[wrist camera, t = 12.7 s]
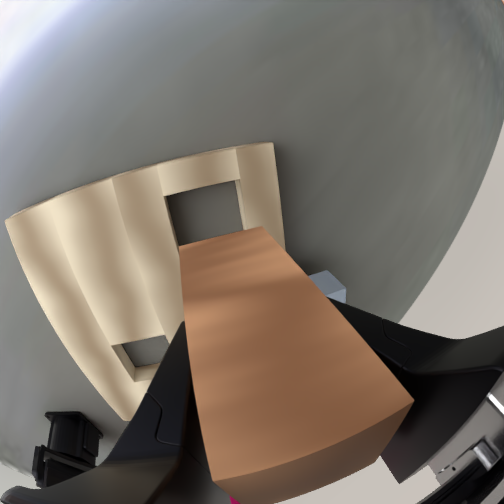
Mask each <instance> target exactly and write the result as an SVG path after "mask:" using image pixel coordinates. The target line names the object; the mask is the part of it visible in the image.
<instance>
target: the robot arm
mask: <svg viewBox="0 0 504 504" xmlns="http://www.w3.org/2000/svg"><path fill="white" fill-rule="evenodd" d="M326 297H327V296H326ZM327 298H328V299H329V300H330V302H331V303H332V304H333V305H334V306H335V307H336V308H337V310H338V311H339V312H340V313H341V314H342V315H343V316H344V318H345V319H346V320H347V321H348V322H349V323H350V324H351V326H352V327H353V328H354V329H355V330H356V331H357V333H358V334H359V335H360V336H361V337H362V338H363V340H364V341H365V342H366V343H367V344H368V345H369V347H370V348H371V349H372V350H373V351H374V352H375V354H376V355H377V356H378V357H379V358H380V359H381V361H382V362H383V363H384V364H385V365H386V367H387V368H388V369H389V370H390V371H391V373H392V374H393V375H394V376H395V377H396V379H397V380H398V381H399V382H400V383H401V385H402V386H403V387H404V388H405V389H406V391H407V392H408V393H409V394H410V395H411V397H412V398H413V399H414V402H413V404H412V406H411V408H410V409H409V411H408V413H407V415H406V416H405V418H404V420H403V421H402V423H401V424H400V426H399V428H398V429H397V431H396V432H395V434H394V435H393V437H392V438H391V440H390V441H389V443H388V444H387V446H386V447H385V449H384V450H383V452H382V453H381V454H380V456H381V457H382V459H383V460H384V462H385V463H386V465H387V467H388V468H389V470H390V471H391V473H392V474H393V476H394V477H395V479H396V480H397V482H398V483H399V484H400V483H402V482H403V481H405V480H406V479H408V478H410V477H411V476H413V475H414V474H416V473H417V472H418V471H420V470H421V469H423V468H424V467H425V466H427V465H429V466H430V468H431V469H432V470H433V472H434V473H435V475H436V479H437V481H438V482H439V483H440V485H441V486H440V487H438V488H437V489H436V490H435V491H433V492H432V493H431V494H429V495H428V496H427V497H425V498H424V499H422V500H421V501H419V502H418V503H417V504H504V326H502V327H499V328H497V329H494V330H491V331H488V332H485V333H482V334H479V335H476V336H473V337H470V338H466V339H450V338H446V337H442V336H438V335H434V334H430V333H426V332H423V331H419V330H416V329H412V328H409V327H406V326H403V325H400V324H397V323H394V322H392V321H389V320H386V319H383V320H382V318H381V317H378V316H376V315H373V314H371V313H368V312H365V311H363V310H360V309H358V308H355V307H352V306H350V305H347V304H345V303H342V302H340V301H337V300H335V299H332V298H329V297H327ZM45 417H46V418H47V419H48V420H49V421H50V422H51V427H50V433H49V438H48V445H47V447H45V446H44V445H42V444H41V447H40V446H35V452H34V459H33V466H32V475H33V476H34V477H35V481H36V486H37V487H40V488H41V489H30V488H26V487H22V486H15V487H13V488H11V489H9V490H7V491H6V492H5V493H4V494H3V495H2V497H1V499H0V500H1V502H2V503H4V504H231V501H230V496H229V494H227V493H226V492H225V491H224V490H222V489H221V488H220V487H219V486H218V485H216V484H215V483H214V482H213V481H212V477H211V472H210V468H209V464H208V460H207V455H206V450H205V446H204V441H203V436H202V431H201V426H200V421H199V415H198V410H197V404H196V398H195V392H194V386H193V380H192V373H191V366H190V359H189V352H188V344H187V336H186V327H185V321H182V322H181V323H180V325H179V327H178V329H177V331H176V333H175V335H174V337H173V339H172V341H171V343H170V345H169V347H168V349H167V351H166V353H165V355H164V357H163V359H162V361H161V363H160V365H159V367H158V369H157V371H156V373H155V375H154V377H153V379H152V381H151V383H150V385H149V387H148V389H147V393H145V395H144V397H143V399H142V401H141V403H140V405H139V407H138V409H137V411H136V412H135V414H134V416H133V418H132V419H131V421H130V423H129V424H128V426H127V427H126V429H125V431H124V432H123V434H122V435H121V437H120V438H119V440H118V442H117V443H116V445H115V446H114V448H113V449H112V451H111V453H110V454H109V455H108V457H107V458H106V459H105V460H104V461H103V462H102V463H101V464H100V465H99V466H95V460H96V457H98V447H99V439H102V438H103V435H102V434H101V433H100V432H99V431H98V430H97V429H96V428H95V427H94V426H93V425H92V424H91V423H90V422H89V421H88V420H87V419H86V418H85V417H84V416H83V415H82V414H81V413H79V412H59V413H45ZM44 460H45V462H44Z"/></svg>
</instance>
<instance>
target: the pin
mask: <svg viewBox="0 0 504 504" xmlns="http://www.w3.org/2000/svg"><path fill="white" fill-rule="evenodd" d="M179 259H180V273H181V286H182V298H183V308H184V318H185V327H186V336H187V344H188V352H189V359H190V366H191V373H192V380H193V386H194V392H195V398H196V404H197V410H198V415H199V421H200V426H201V431H202V436H203V441H204V446H205V450H206V455H207V460H208V464H209V468H210V472H211V477H212V481H213V482H214V483H215V484H216V485H218V486H219V487H220V488H221V489H222V490H224V491H225V492H226V493H227V494H229V495H230V496H231V497H232V498H234V499H235V500H236V501H238V502H239V503H240V504H274V503H278V502H281V501H285V500H288V499H291V498H294V497H297V496H300V495H302V494H306V493H308V492H311V491H314V490H316V489H319V488H321V487H324V486H326V485H328V484H331V483H333V482H336V481H338V480H340V479H342V478H344V477H347V476H349V475H351V474H353V473H355V472H357V471H359V470H361V469H363V468H365V467H367V466H369V465H371V464H372V463H374V462H375V461H376V460H377V458H378V457H379V456H380V454H381V453H382V452H383V450H384V449H385V447H386V446H387V444H388V443H389V441H390V440H391V438H392V437H393V435H394V434H395V432H396V431H397V429H398V428H399V426H400V424H401V423H402V421H403V420H404V418H405V416H406V415H407V413H408V411H409V409H410V408H411V406H412V404H413V402H414V399H413V398H412V397H411V395H410V394H409V393H408V392H407V391H406V389H405V388H404V387H403V386H402V385H401V383H400V382H399V381H398V380H397V379H396V377H395V376H394V375H393V374H392V373H391V371H390V370H389V369H388V368H387V367H386V365H385V364H384V363H383V362H382V361H381V359H380V358H379V357H378V356H377V355H376V354H375V352H374V351H373V350H372V349H371V348H370V347H369V345H368V344H367V343H366V342H365V341H364V340H363V338H362V337H361V336H360V335H359V334H358V333H357V331H356V330H355V329H354V328H353V327H352V326H351V324H350V323H349V322H348V321H347V320H346V319H345V318H344V316H343V315H342V314H341V313H340V312H339V311H338V310H337V308H336V307H335V306H334V305H333V304H332V303H331V302H330V300H329V299H328V298H327V297H326V296H325V295H324V294H323V293H322V291H321V290H320V289H319V288H318V287H317V286H316V285H315V284H314V282H313V281H312V280H311V279H310V278H309V277H308V276H307V275H306V274H305V272H304V271H303V270H302V269H301V268H300V267H299V266H298V265H297V264H296V262H295V261H294V260H293V259H292V258H291V257H290V256H289V255H288V254H287V253H286V251H285V250H284V249H283V248H282V247H281V246H280V245H279V244H278V243H277V242H276V241H275V239H274V238H273V237H272V236H271V235H270V234H269V233H268V232H267V231H266V230H265V229H264V228H263V227H262V226H259V227H255V228H251V229H247V230H243V231H239V232H234V233H230V234H226V235H222V236H218V237H214V238H210V239H206V240H202V241H198V242H194V243H190V244H186V245H182V246H179Z"/></svg>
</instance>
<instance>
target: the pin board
mask: <svg viewBox="0 0 504 504" xmlns="http://www.w3.org/2000/svg"><path fill="white" fill-rule="evenodd" d="M232 180H235V184H236V190H237V196H238V202H239V208H240V214H241V220H242V226H243V230H247V229H251V228H255V227H259V226H262V227H263V228H264V229H265V230H266V231H267V232H268V233H269V234H270V235H271V236H272V237H273V238H274V239H275V241H276V242H277V243H278V244H279V245H280V246H281V247H282V248H283V249H284V250H285V240H284V231H283V221H282V212H281V203H280V194H279V186H278V178H277V170H276V162H275V154H274V146H273V143H270V142H259V143H253V144H246V145H240V146H234V147H229V148H223V149H218V150H213V151H208V152H203V153H198V154H194V155H189V156H185V157H180V158H176V159H172V160H168V161H164V162H160V163H156V164H152V165H149V166H145V167H141V168H138V169H134V170H131V171H127V172H124V173H121V174H117V175H114V176H111V177H108V178H105V179H102V180H99V181H96V182H93V183H90V184H87V185H84V186H81V187H78V188H76V189H73V190H70V191H68V192H65V193H62V194H60V195H57V196H55V197H52V198H50V199H47V200H45V201H42V202H40V203H38V204H35V205H33V206H31V207H28V208H26V209H24V210H22V211H19V212H17V213H16V214H14V215H12V216H11V217H9V218H8V219H6V220H5V224H6V227H7V230H8V232H9V235H10V238H11V241H12V243H13V246H14V249H15V251H16V254H17V256H18V259H19V261H20V263H21V266H22V268H23V270H24V272H25V275H26V277H27V279H28V281H29V283H30V285H31V287H32V289H33V291H34V293H35V295H36V297H37V299H38V301H39V303H40V305H41V307H42V309H43V310H44V312H45V314H46V316H47V318H48V319H49V321H50V323H51V324H52V326H53V328H54V329H55V331H56V333H57V334H58V336H59V338H60V339H61V341H62V342H63V344H64V345H65V347H66V348H67V350H68V351H69V353H70V354H71V356H72V357H73V359H74V360H75V362H76V363H77V364H78V366H79V367H80V368H81V370H82V371H83V373H84V374H85V375H86V377H87V378H88V379H89V380H90V382H91V383H92V384H93V386H94V387H95V388H96V389H97V391H98V392H99V393H100V394H101V395H102V397H103V398H104V399H105V400H106V401H107V403H108V404H109V405H110V406H111V407H112V408H113V409H114V411H115V412H116V413H117V414H118V415H119V416H120V417H121V418H122V419H123V420H124V421H131V419H132V418H133V416H134V414H135V412H136V411H137V409H138V407H139V405H140V403H141V401H142V399H143V397H144V395H145V393H147V389H148V387H149V385H150V383H151V381H152V379H153V377H154V375H155V373H156V371H157V369H158V367H159V365H160V363H157V364H152V365H146V366H141V367H136V368H135V367H134V365H133V363H132V362H131V360H130V358H129V357H128V355H127V353H126V352H125V350H124V348H123V346H122V345H121V344H122V343H127V342H132V341H137V340H141V339H146V338H151V337H155V336H160V335H164V334H165V335H166V337H167V340H168V342H169V344H170V343H171V341H172V339H173V337H174V335H175V333H176V331H177V329H178V327H179V325H180V323H181V322H182V321H185V318H184V308H183V298H182V286H181V273H180V259H179V245H178V241H177V238H176V234H175V230H174V226H173V222H172V218H171V215H170V210H169V206H168V202H167V198H166V196H167V195H171V194H175V193H179V192H183V191H187V190H191V189H195V188H200V187H204V186H209V185H213V184H218V183H222V182H227V181H232ZM285 251H286V250H285Z"/></svg>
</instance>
